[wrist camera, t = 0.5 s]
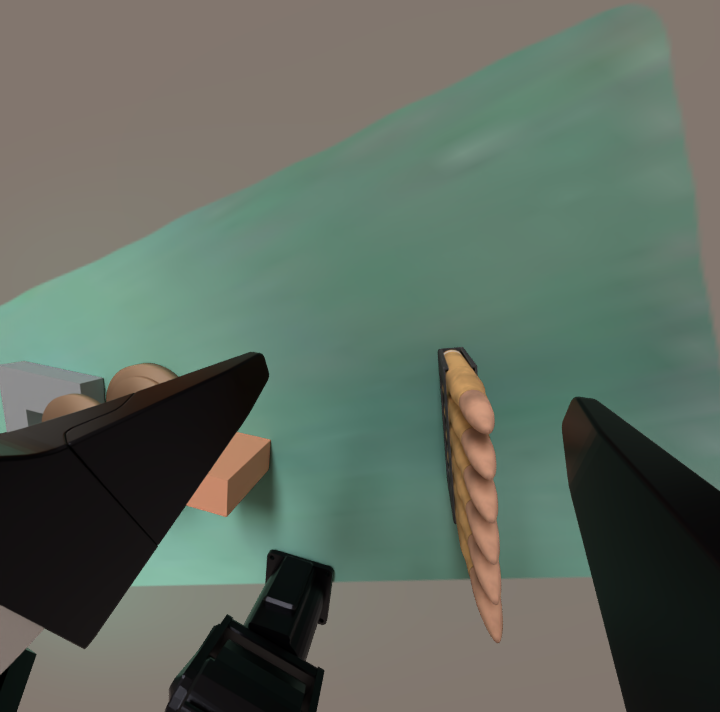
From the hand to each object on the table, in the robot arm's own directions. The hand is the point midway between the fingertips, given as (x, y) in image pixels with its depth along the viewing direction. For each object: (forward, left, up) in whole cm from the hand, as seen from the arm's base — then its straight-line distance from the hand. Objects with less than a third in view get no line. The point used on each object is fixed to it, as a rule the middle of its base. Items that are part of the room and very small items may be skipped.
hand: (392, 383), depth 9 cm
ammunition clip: (-6, -4, -14) cm, 16 cm away
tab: (-13, +13, -14) cm, 22 cm away
